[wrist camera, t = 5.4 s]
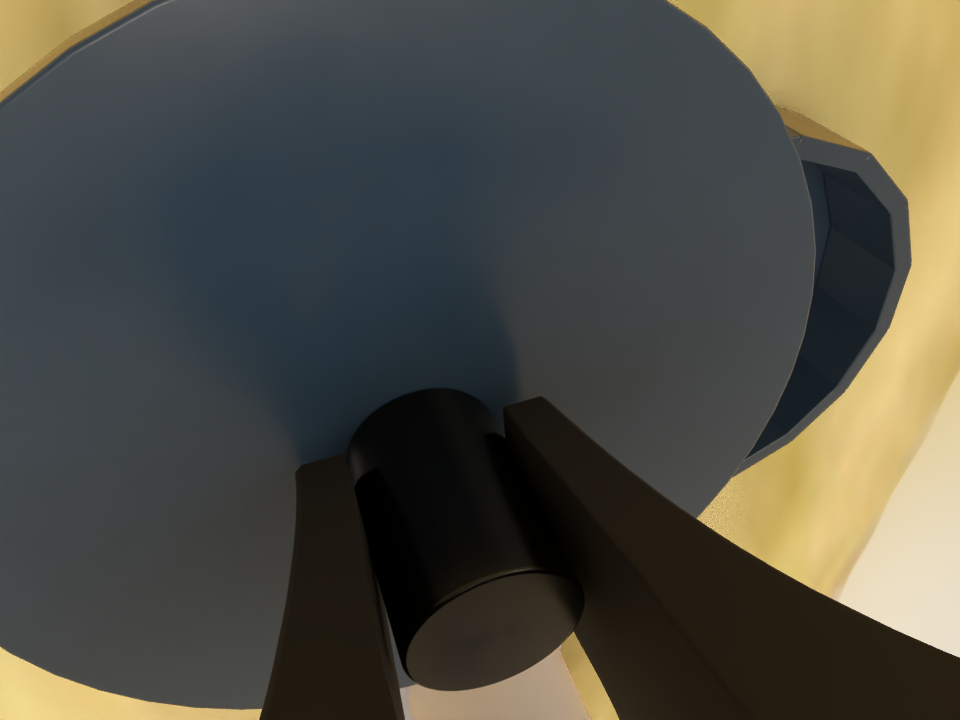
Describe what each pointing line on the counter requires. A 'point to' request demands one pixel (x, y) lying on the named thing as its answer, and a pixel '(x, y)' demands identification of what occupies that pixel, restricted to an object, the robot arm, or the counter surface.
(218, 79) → the pot lid
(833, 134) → the pot
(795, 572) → the counter surface
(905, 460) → the counter surface
